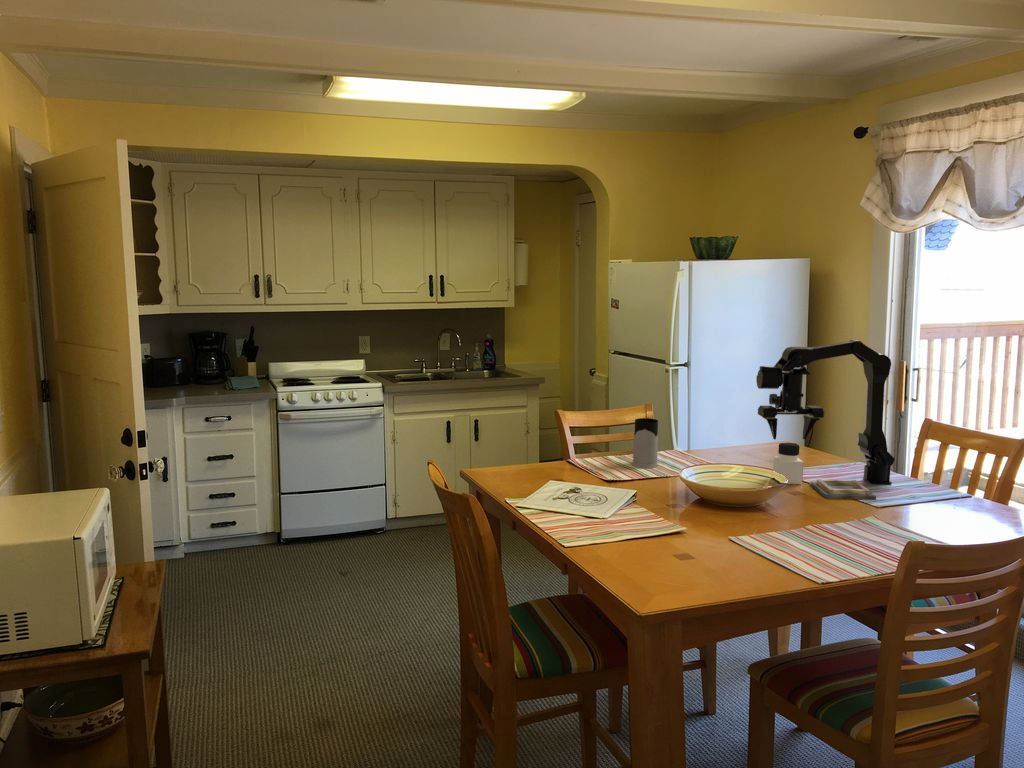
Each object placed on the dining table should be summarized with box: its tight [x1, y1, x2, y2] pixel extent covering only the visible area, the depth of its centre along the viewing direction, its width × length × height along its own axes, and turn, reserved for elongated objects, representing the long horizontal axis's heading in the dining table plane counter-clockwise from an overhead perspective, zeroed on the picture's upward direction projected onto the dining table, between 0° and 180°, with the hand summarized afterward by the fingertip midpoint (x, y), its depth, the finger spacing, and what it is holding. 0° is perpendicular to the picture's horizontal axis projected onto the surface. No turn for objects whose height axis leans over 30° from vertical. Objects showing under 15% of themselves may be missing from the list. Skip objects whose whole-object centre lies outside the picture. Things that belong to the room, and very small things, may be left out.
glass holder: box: [631, 417, 659, 469], centre depth 273 cm, size 9×14×15 cm, turn 163°
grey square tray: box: [810, 478, 877, 500], centre depth 242 cm, size 14×14×2 cm
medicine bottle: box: [772, 441, 804, 485], centre depth 252 cm, size 7×7×12 cm
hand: (789, 439), depth 252 cm, fingers open, 9 cm apart
